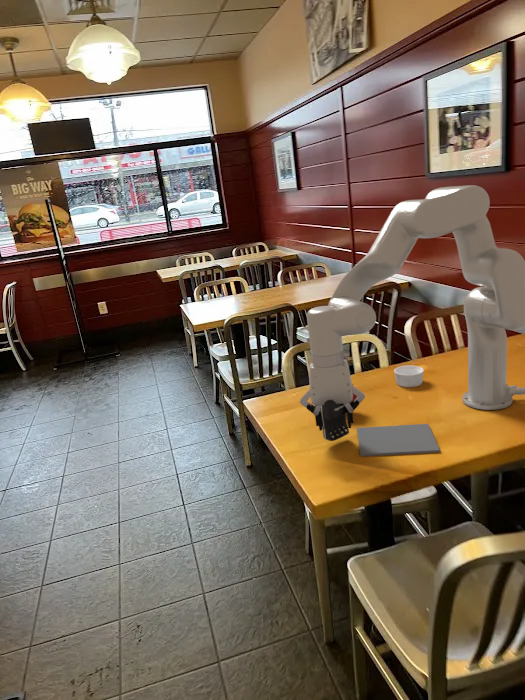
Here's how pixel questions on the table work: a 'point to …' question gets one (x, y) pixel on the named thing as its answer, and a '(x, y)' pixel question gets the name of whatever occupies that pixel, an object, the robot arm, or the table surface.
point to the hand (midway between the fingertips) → (335, 426)
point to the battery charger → (333, 420)
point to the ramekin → (409, 376)
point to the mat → (396, 440)
